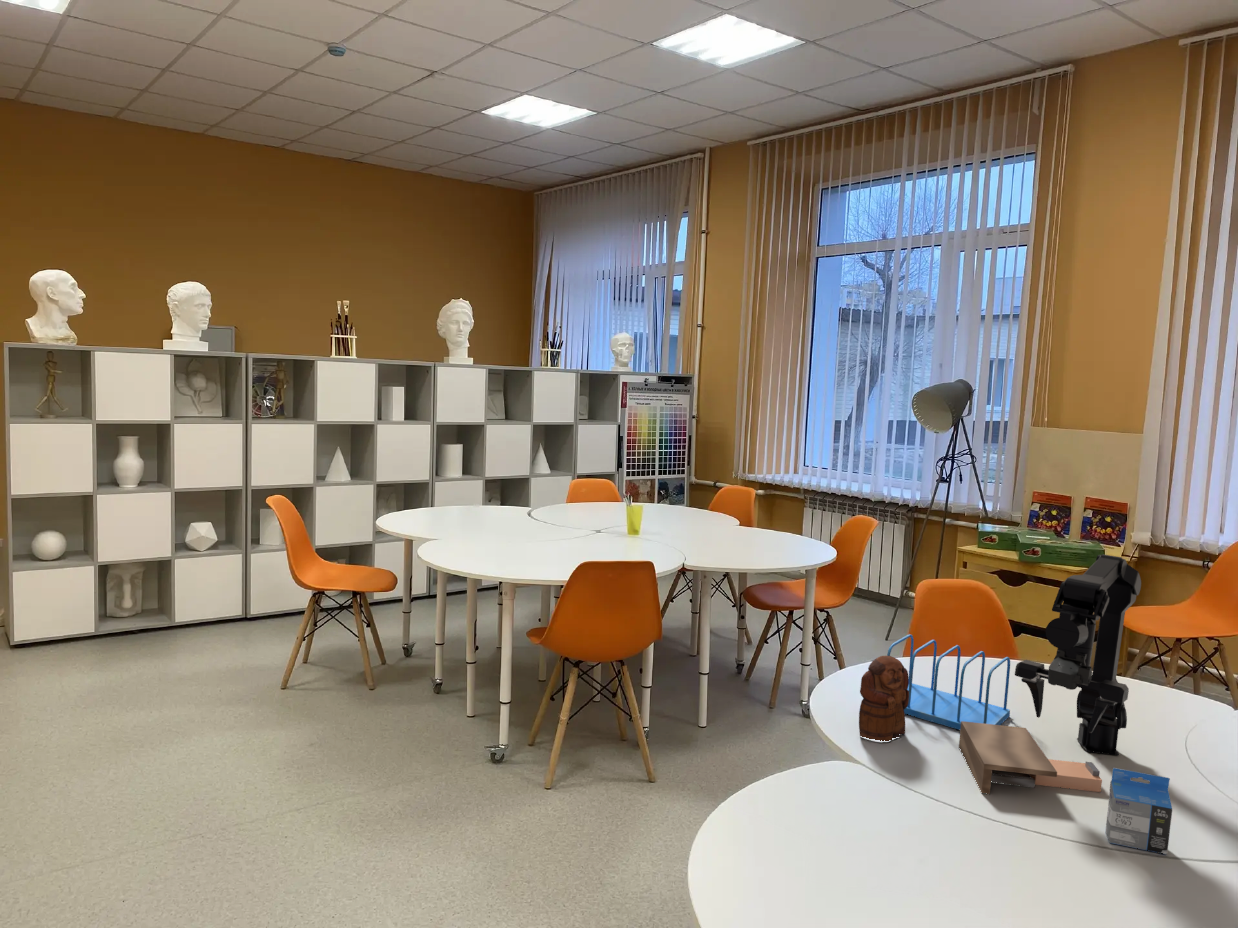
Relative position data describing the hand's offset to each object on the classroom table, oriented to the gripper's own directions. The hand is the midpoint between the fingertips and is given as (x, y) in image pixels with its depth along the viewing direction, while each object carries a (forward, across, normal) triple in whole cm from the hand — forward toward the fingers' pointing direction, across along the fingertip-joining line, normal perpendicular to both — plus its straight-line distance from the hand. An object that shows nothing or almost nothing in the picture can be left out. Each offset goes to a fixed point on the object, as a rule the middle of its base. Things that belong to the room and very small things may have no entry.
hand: (1064, 724), depth 163 cm
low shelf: (+14, -10, +2) cm, 17 cm away
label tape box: (+15, +15, -8) cm, 23 cm away
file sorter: (+11, -30, +24) cm, 40 cm away
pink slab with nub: (+13, 0, +8) cm, 15 cm away
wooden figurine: (+14, -35, +1) cm, 38 cm away
